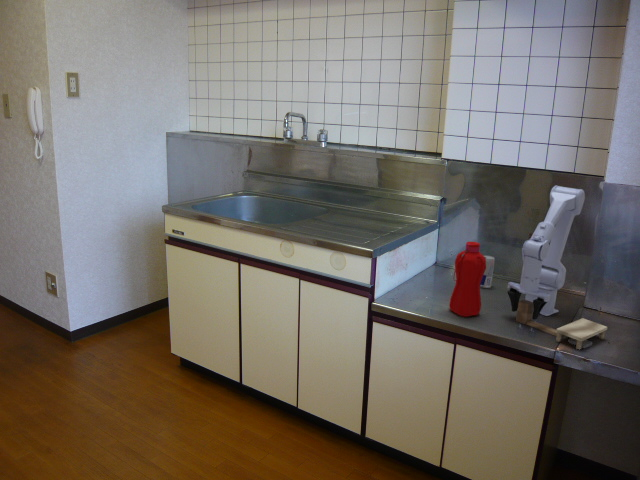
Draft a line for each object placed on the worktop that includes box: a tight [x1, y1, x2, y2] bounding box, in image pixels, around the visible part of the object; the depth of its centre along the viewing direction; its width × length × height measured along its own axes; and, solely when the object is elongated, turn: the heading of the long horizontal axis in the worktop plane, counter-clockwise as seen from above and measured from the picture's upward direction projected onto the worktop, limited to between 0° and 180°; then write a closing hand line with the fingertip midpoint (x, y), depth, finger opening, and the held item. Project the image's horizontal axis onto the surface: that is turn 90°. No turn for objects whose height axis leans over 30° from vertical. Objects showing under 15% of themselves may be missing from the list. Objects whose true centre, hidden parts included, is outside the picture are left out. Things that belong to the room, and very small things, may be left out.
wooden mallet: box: [515, 299, 557, 337], centre depth 178 cm, size 15×4×7 cm, turn 38°
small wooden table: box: [555, 317, 608, 351], centre depth 171 cm, size 8×16×4 cm, turn 128°
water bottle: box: [448, 241, 486, 318], centre depth 185 cm, size 9×11×25 cm
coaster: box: [567, 337, 593, 349], centre depth 168 cm, size 5×5×1 cm
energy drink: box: [480, 254, 496, 289], centre depth 214 cm, size 5×5×12 cm
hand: (524, 314), depth 183 cm, fingers open, 7 cm apart
